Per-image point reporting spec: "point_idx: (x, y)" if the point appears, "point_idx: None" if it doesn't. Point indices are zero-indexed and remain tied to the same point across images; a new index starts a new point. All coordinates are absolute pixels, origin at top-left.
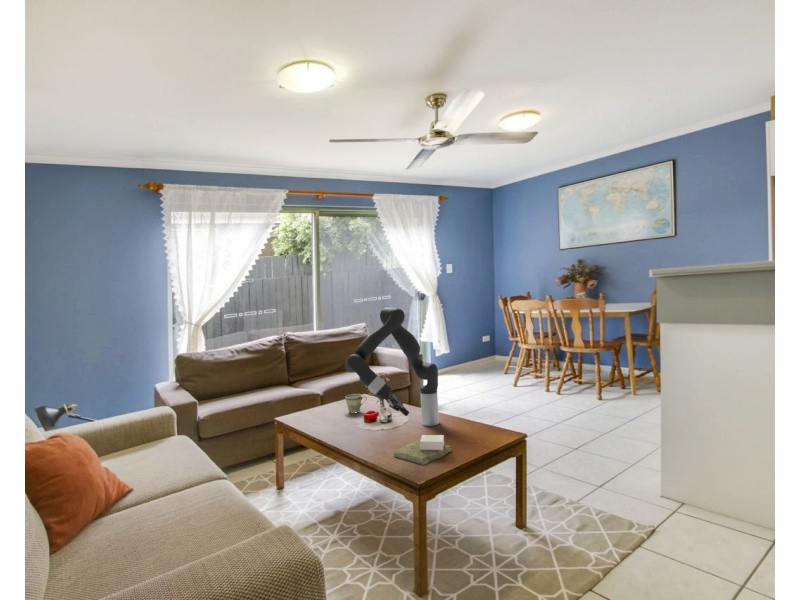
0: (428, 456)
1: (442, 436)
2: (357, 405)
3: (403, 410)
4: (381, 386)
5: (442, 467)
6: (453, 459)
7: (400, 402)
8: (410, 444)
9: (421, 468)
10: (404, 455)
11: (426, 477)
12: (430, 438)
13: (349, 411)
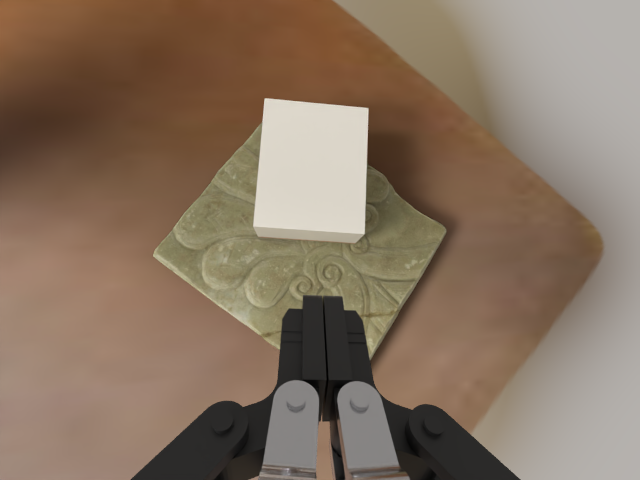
0: (406, 205)
1: (286, 106)
2: None
3: (369, 368)
4: None
5: (465, 153)
6: (382, 106)
7: (221, 467)
8: (244, 308)
9: (481, 239)
10: (389, 328)
11: (563, 215)
12: (316, 174)
13: None
